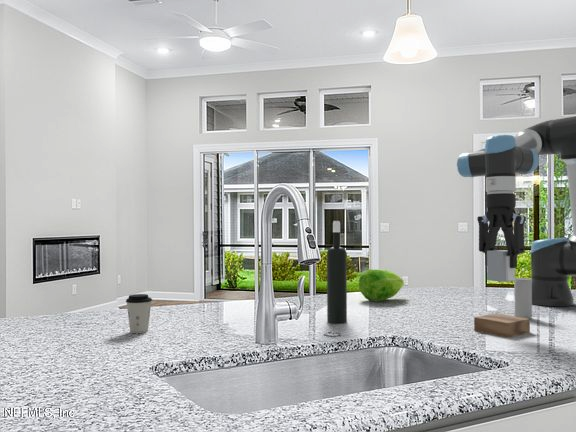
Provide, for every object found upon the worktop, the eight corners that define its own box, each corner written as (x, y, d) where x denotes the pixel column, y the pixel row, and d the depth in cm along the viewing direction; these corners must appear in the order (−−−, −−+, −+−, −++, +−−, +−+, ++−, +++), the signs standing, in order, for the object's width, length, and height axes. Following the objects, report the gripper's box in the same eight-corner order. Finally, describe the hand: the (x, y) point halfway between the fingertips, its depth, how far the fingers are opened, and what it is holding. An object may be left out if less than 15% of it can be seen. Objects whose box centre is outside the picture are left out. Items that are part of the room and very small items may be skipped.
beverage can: (533, 319, 155) (533, 279, 155) (516, 319, 156) (516, 279, 156) (529, 316, 159) (529, 277, 159) (513, 316, 160) (512, 277, 160)
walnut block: (496, 327, 146) (496, 313, 146) (529, 333, 137) (529, 318, 137) (474, 331, 140) (474, 317, 140) (507, 338, 132) (507, 323, 132)
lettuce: (416, 300, 193) (416, 268, 193) (376, 305, 182) (376, 271, 182) (390, 295, 204) (390, 265, 204) (351, 300, 194) (351, 268, 194)
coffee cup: (157, 330, 142) (157, 294, 142) (142, 335, 136) (142, 297, 136) (136, 328, 145) (135, 293, 145) (120, 333, 138) (120, 296, 138)
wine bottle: (350, 321, 153) (350, 220, 153) (338, 324, 149) (338, 220, 149) (335, 319, 157) (334, 220, 157) (323, 321, 153) (322, 220, 153)
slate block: (499, 279, 142) (499, 250, 142) (515, 280, 138) (515, 251, 138) (487, 280, 140) (486, 250, 140) (502, 282, 135) (502, 251, 135)
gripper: (464, 194, 145) (464, 277, 145) (521, 191, 129) (522, 283, 129) (482, 195, 149) (482, 275, 148) (540, 191, 133) (540, 281, 133)
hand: (500, 279), depth 139 cm, fingers closed on slate block, 5 cm apart
